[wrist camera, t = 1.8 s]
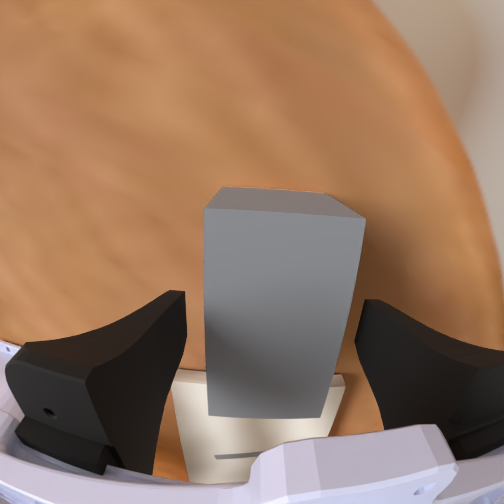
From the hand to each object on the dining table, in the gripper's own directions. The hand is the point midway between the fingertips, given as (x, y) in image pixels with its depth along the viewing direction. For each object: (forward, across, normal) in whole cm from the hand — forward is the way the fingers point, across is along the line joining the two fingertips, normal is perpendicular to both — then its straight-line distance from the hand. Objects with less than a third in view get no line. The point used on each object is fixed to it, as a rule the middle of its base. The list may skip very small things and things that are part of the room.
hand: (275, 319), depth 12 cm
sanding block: (+5, 0, 0) cm, 5 cm away
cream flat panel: (+4, 0, +19) cm, 20 cm away
